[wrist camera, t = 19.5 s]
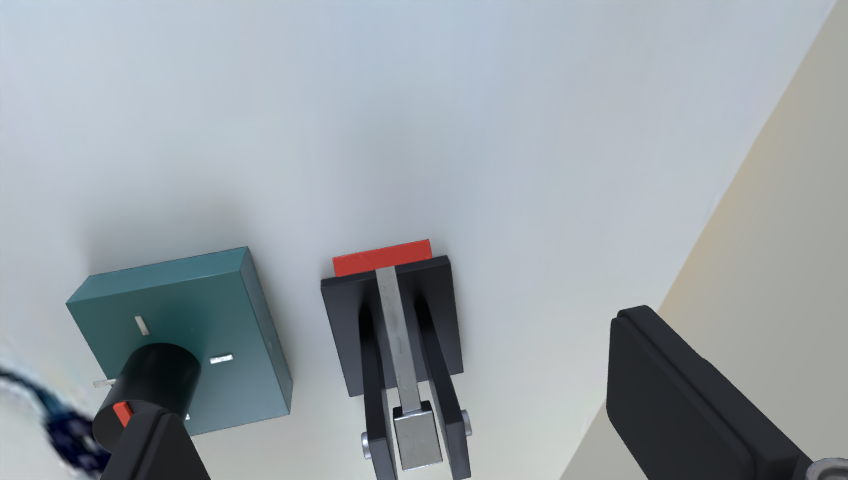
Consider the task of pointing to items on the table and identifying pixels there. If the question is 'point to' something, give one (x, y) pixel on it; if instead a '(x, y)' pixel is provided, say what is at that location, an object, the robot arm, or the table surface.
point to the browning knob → (147, 389)
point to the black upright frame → (372, 362)
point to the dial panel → (193, 332)
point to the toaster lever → (400, 350)
